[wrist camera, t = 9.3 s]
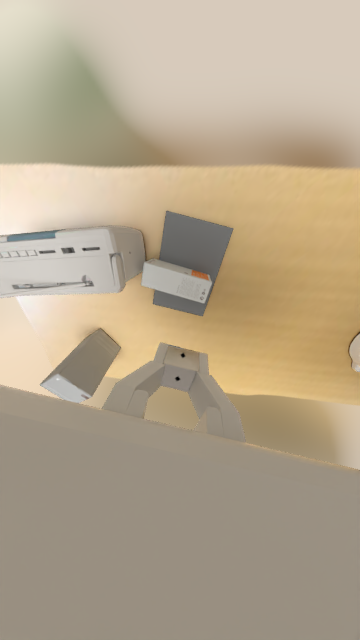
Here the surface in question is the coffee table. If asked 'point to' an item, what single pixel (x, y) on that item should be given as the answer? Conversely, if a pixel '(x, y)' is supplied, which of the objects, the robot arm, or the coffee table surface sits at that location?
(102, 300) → the coffee table surface
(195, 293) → the skincare box
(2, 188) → the coffee table surface
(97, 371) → the skincare box
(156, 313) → the coffee table surface
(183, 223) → the mat
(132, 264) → the stereo radio cassette player
